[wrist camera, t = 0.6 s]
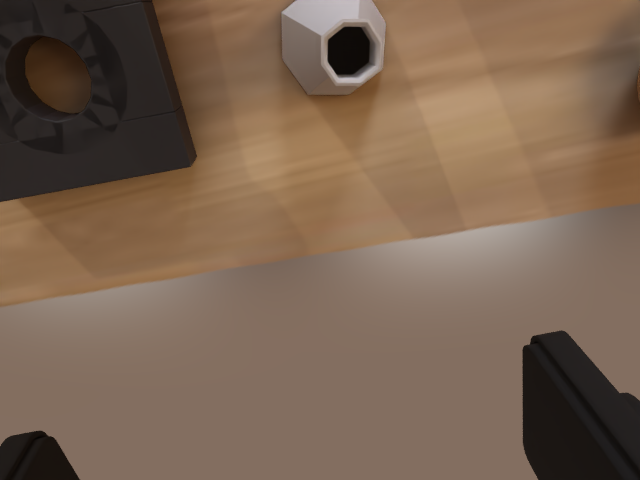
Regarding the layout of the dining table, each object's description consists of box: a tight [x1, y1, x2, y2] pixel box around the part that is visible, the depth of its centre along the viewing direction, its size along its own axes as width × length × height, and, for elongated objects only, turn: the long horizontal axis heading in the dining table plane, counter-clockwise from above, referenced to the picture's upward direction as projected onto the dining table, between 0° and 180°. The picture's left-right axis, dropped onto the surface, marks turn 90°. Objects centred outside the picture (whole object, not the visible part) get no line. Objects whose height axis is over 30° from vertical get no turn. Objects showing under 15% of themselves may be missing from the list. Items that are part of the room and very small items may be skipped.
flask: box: [281, 0, 386, 95], centre depth 28 cm, size 7×7×10 cm
